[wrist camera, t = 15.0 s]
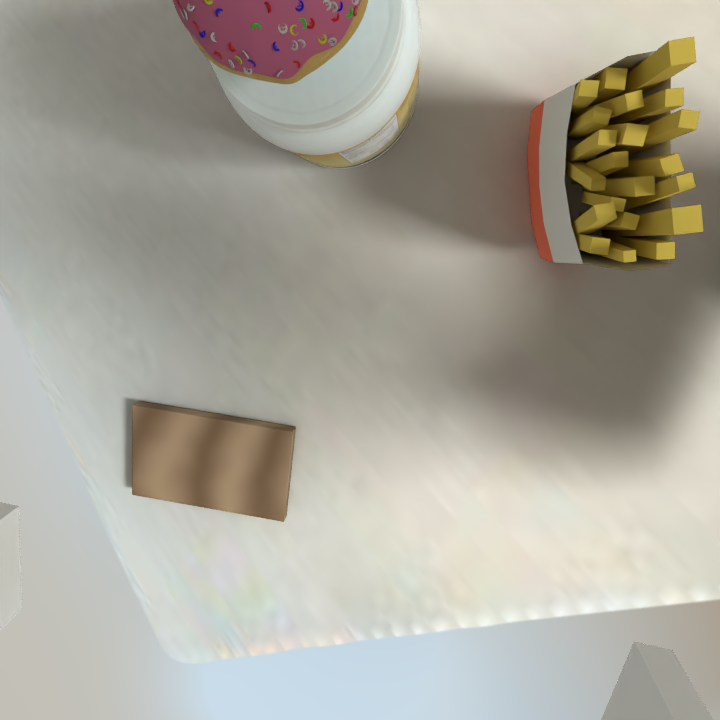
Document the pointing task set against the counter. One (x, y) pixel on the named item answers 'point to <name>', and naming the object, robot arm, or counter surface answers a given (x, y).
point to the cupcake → (271, 34)
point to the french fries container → (613, 164)
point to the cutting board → (211, 460)
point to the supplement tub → (342, 93)
